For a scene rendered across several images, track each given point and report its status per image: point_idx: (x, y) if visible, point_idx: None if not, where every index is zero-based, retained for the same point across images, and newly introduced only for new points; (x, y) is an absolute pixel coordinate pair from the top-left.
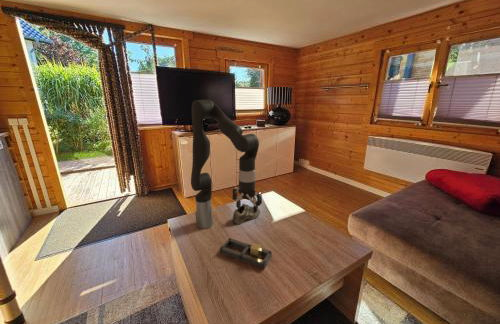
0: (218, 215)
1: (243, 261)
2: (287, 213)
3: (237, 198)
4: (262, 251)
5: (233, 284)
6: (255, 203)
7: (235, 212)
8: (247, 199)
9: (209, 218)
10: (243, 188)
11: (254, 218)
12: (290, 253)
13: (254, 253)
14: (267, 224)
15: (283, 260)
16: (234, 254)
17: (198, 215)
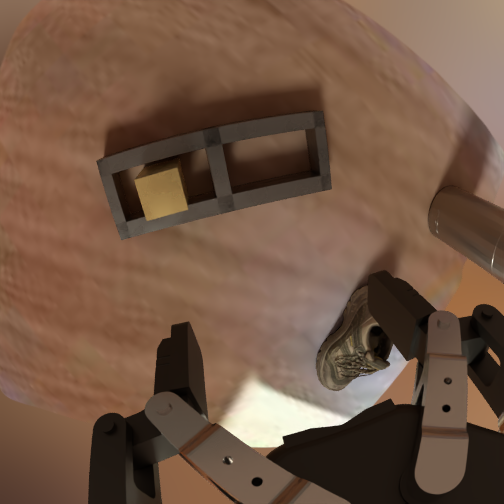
0: (434, 276)
1: (197, 130)
2: (239, 422)
3: (457, 347)
4: None
5: (154, 26)
6: (161, 433)
7: None
8: (311, 434)
9: (454, 224)
10: None
11: (320, 348)
12: (90, 288)
13: (156, 169)
14: (260, 355)
15: (82, 244)
16: (245, 121)
17: (489, 202)
